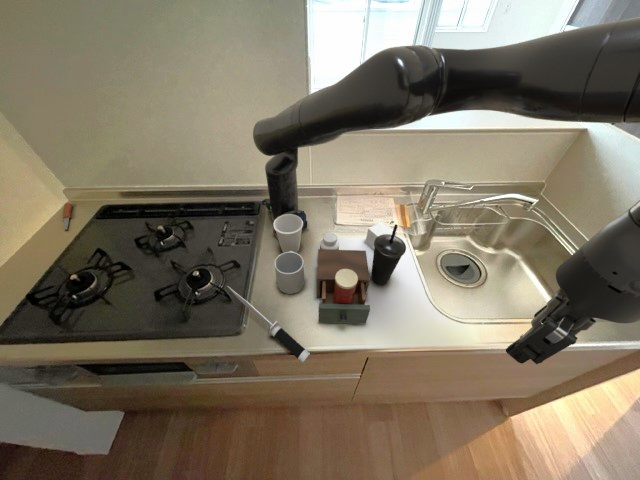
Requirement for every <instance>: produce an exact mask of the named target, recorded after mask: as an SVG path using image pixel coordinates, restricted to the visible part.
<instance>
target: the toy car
mask: <svg viewBox="0 0 640 480" xmlns="http://www.w3.org/2000/svg"><path fill="white" fill-rule="evenodd" d="M293 215H296V216H298V217H300V218H301V219H302V221H303V227H302V231H305V229H308V220H307V214H306V212H305V210H302V209H301V210H300V209H298V210H297V211H296V212H295V213H293ZM272 232H273V233H272V234H273V235H274V236H275V237H276V238H277V239H278V237H277V233H276V230H275V229H274V226H273V225H272Z"/></svg>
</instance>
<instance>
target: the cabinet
mask: <svg viewBox="0 0 640 480" xmlns="http://www.w3.org/2000/svg"><path fill="white" fill-rule="evenodd" d="M316 268H317V273H316V274H317V275H316V299H322V281H335V276H336V273H337V272H338V271H339V270H341V269H350V270H352V271H354V272H355V273H356V274H357V277H358V281H357V282H364V287H365V296H366V297H367V293H368V290H369V286H370V282H371V275H370V270H369V263H368V255H367V250H361V249H360V250H359V249H339V250H329V249H320V248H318V249H317V267H316Z"/></svg>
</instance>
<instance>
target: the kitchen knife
mask: <svg viewBox="0 0 640 480" xmlns="http://www.w3.org/2000/svg"><path fill="white" fill-rule="evenodd" d="M72 210H73V204H72V203H70V202H66V203H65V204H64V205H63V212H62V219H63V229H64V230H68V226H69V223H70V222H69V221H70V219H71V218H72Z"/></svg>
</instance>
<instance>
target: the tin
mask: <svg viewBox="0 0 640 480" xmlns="http://www.w3.org/2000/svg"><path fill="white" fill-rule="evenodd" d="M357 281H358V277H357V274H356V273H355V272H354V271H352V270H350V269H341V270H339V271H338V272H337V273H336V276H335V288H334V298H333V304H352V302H353V298H354V293H355V288H356V284H357Z"/></svg>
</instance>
